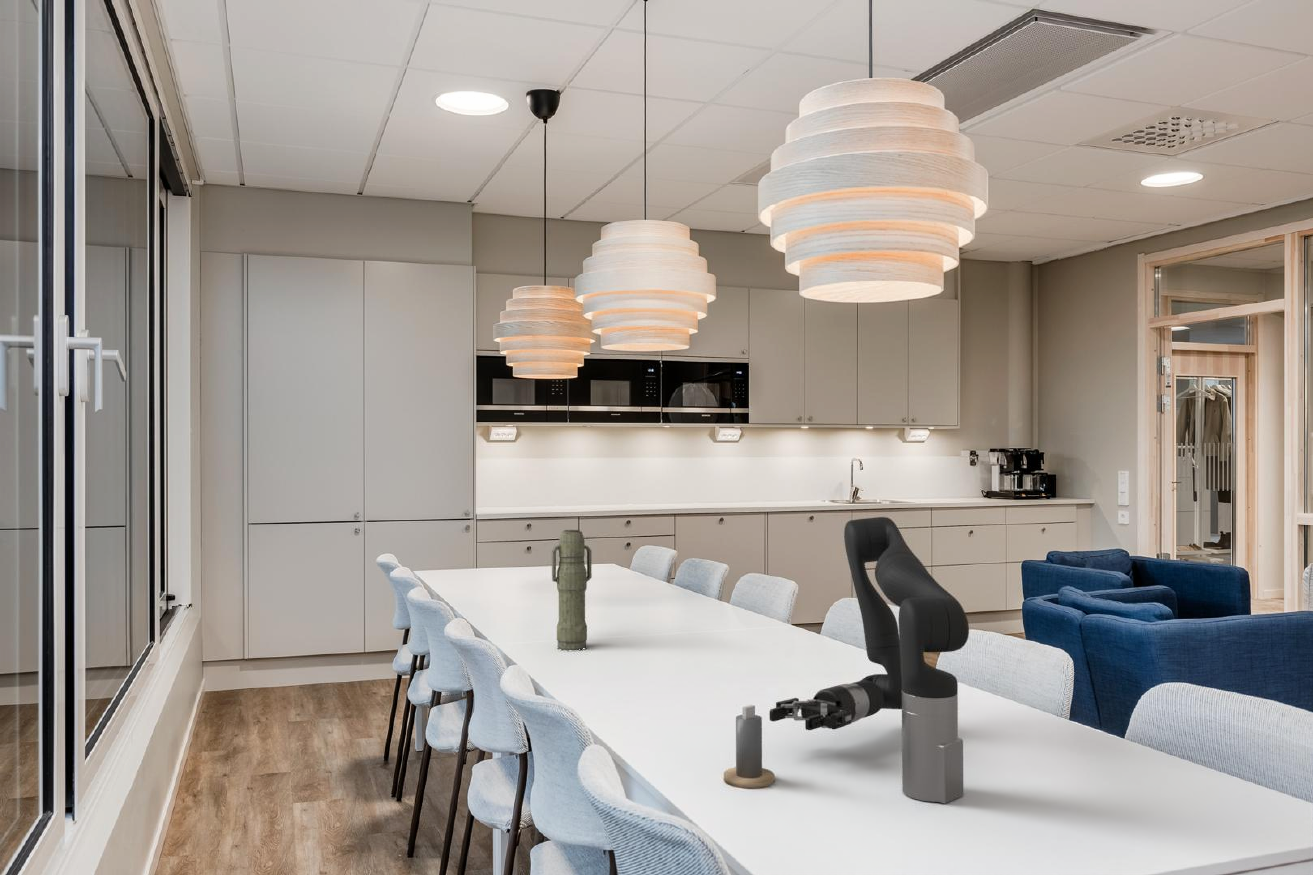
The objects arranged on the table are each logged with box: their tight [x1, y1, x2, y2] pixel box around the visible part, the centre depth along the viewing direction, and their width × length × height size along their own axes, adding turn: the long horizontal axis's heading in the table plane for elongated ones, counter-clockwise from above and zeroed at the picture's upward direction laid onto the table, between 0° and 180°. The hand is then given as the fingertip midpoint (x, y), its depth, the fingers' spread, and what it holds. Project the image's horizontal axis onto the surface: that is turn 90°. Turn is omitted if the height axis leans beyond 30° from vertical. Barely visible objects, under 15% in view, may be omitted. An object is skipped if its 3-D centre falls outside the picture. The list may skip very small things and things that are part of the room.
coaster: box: [723, 766, 775, 789], centre depth 178 cm, size 9×9×1 cm
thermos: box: [551, 529, 593, 651], centre depth 298 cm, size 9×12×35 cm
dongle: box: [735, 704, 763, 778], centre depth 178 cm, size 5×5×12 cm
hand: (788, 719), depth 185 cm, fingers open, 8 cm apart
